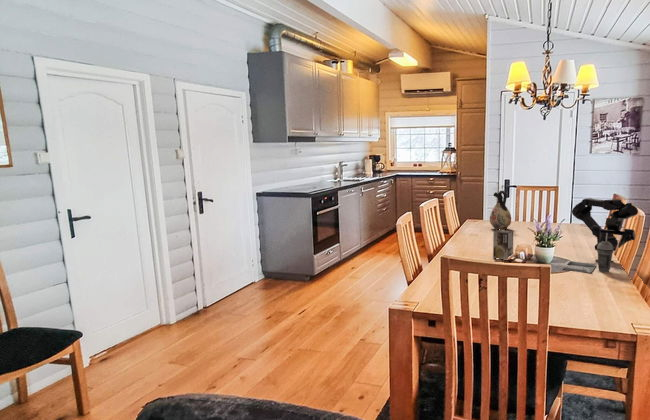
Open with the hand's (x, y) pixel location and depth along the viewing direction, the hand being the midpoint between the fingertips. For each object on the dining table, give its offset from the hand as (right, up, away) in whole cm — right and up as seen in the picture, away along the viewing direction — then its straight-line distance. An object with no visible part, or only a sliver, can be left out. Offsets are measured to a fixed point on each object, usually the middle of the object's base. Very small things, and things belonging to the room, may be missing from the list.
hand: (608, 246), depth 225 cm
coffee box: (-41, -10, +30) cm, 52 cm away
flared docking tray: (-11, -12, +7) cm, 18 cm away
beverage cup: (-2, -13, 0) cm, 13 cm away
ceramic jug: (-10, +3, +113) cm, 114 cm away
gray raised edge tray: (-11, -12, +7) cm, 18 cm away
